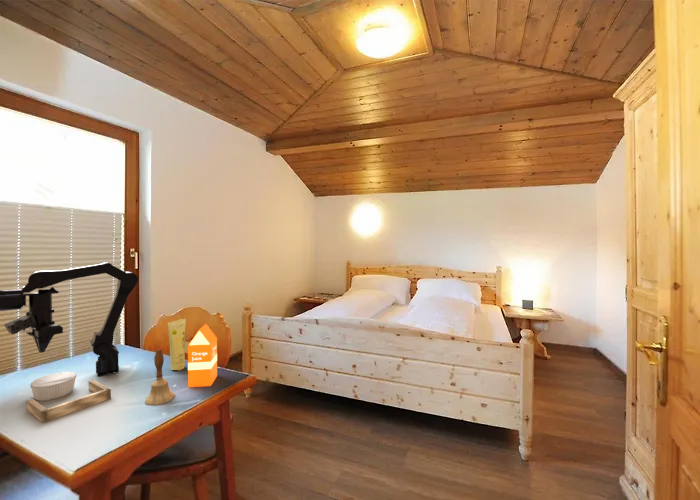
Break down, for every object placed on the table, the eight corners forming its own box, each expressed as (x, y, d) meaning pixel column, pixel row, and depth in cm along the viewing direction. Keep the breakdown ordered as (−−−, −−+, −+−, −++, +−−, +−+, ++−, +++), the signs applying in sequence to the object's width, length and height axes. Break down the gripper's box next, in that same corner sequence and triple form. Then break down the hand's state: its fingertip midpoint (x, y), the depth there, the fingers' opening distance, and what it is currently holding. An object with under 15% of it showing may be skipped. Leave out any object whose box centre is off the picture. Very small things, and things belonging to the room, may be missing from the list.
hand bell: (143, 407, 97) (142, 355, 96) (146, 396, 104) (145, 347, 104) (174, 401, 100) (174, 351, 100) (175, 390, 108) (174, 344, 107)
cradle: (93, 388, 109) (93, 380, 109) (110, 398, 102) (110, 388, 102) (26, 410, 95) (26, 400, 95) (42, 422, 88) (42, 412, 88)
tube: (182, 371, 124) (181, 321, 124) (167, 372, 123) (167, 322, 122) (186, 365, 130) (185, 318, 129) (172, 366, 128) (172, 318, 128)
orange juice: (217, 375, 120) (217, 322, 120) (211, 385, 112) (210, 329, 111) (195, 376, 119) (195, 323, 119) (187, 387, 110) (187, 330, 110)
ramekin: (47, 404, 98) (47, 387, 98) (20, 400, 101) (20, 384, 101) (85, 388, 109) (85, 373, 109) (60, 385, 112) (59, 370, 112)
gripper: (-2, 308, 108) (-1, 354, 108) (16, 315, 98) (17, 365, 99) (42, 303, 117) (43, 345, 118) (63, 308, 108) (63, 354, 108)
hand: (41, 352), depth 110 cm, fingers closed
